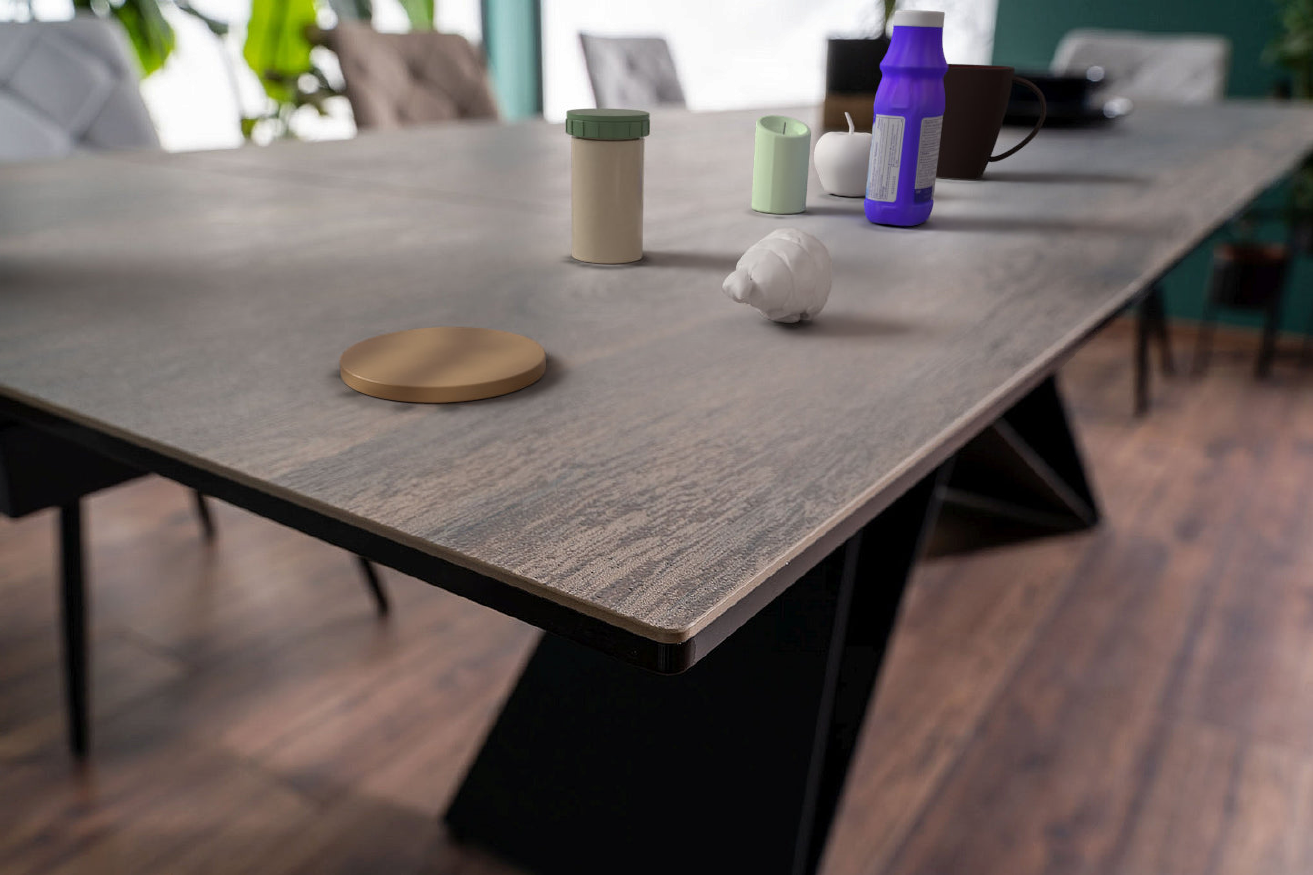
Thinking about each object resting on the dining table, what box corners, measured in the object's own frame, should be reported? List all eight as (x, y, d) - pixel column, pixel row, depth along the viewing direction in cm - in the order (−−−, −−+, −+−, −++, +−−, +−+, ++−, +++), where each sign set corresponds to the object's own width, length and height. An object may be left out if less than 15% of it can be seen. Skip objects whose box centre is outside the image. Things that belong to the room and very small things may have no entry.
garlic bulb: (697, 322, 63) (700, 229, 61) (769, 307, 66) (775, 218, 64) (763, 344, 59) (769, 245, 57) (836, 327, 63) (845, 233, 61)
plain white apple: (816, 187, 113) (822, 108, 110) (884, 191, 112) (892, 111, 109) (806, 197, 107) (812, 113, 104) (878, 202, 105) (887, 117, 102)
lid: (562, 137, 73) (562, 114, 73) (569, 129, 79) (569, 107, 78) (649, 139, 73) (649, 116, 73) (649, 130, 79) (650, 109, 78)
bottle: (876, 212, 100) (896, 10, 93) (938, 218, 97) (962, 11, 91) (854, 224, 94) (873, 9, 87) (919, 231, 91) (944, 10, 85)
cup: (915, 168, 130) (927, 62, 126) (1036, 175, 126) (1052, 67, 121) (905, 178, 121) (918, 65, 117) (1035, 187, 117) (1052, 71, 113)
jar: (569, 263, 77) (568, 122, 73) (574, 248, 82) (573, 115, 78) (642, 264, 77) (644, 123, 73) (642, 249, 82) (645, 116, 78)
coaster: (315, 400, 49) (313, 384, 49) (369, 338, 58) (368, 324, 58) (535, 405, 49) (535, 388, 49) (554, 342, 58) (553, 328, 58)
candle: (815, 212, 99) (822, 119, 96) (766, 215, 97) (772, 120, 94) (789, 204, 103) (795, 114, 100) (742, 206, 101) (746, 115, 98)
